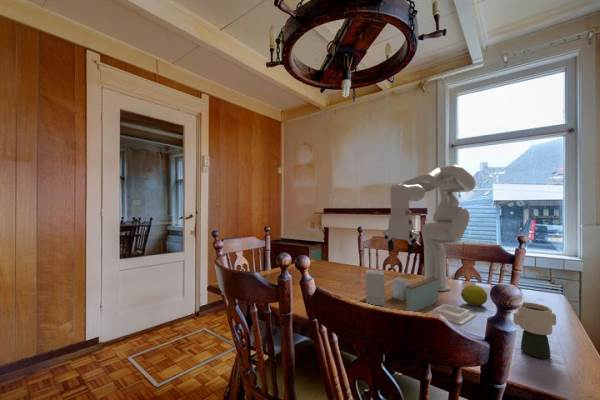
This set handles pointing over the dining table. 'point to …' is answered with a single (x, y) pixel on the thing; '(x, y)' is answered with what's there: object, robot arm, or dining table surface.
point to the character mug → (535, 328)
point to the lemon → (474, 295)
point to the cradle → (454, 313)
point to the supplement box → (375, 287)
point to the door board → (422, 294)
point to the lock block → (400, 288)
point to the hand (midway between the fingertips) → (400, 251)
